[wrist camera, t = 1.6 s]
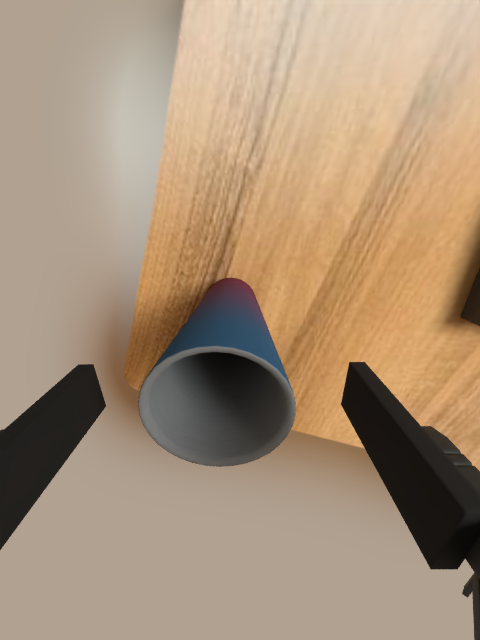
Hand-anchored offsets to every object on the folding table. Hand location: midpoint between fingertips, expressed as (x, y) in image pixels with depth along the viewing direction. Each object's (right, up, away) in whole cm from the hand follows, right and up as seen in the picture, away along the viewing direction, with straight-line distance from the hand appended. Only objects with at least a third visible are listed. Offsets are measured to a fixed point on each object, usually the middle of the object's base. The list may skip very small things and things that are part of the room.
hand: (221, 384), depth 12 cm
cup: (0, +5, +12) cm, 13 cm away
